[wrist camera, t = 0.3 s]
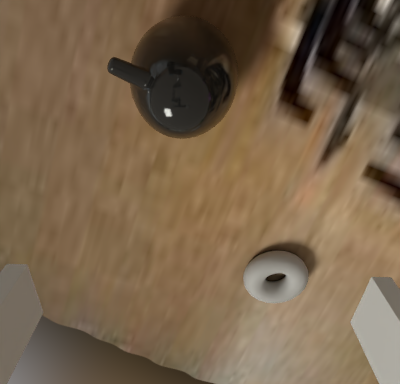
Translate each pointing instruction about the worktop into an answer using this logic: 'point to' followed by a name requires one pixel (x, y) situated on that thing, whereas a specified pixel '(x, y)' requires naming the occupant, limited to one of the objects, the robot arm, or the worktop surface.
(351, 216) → the worktop surface
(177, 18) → the pump dispenser
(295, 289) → the donut
